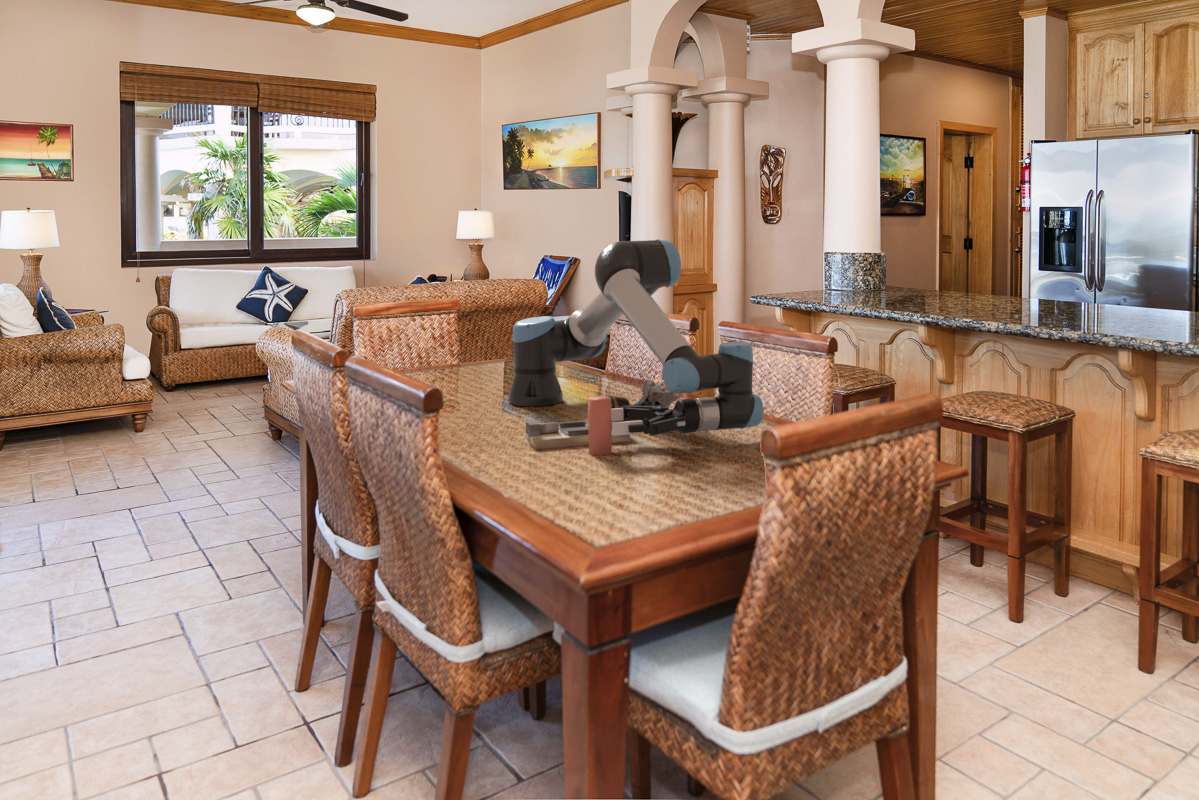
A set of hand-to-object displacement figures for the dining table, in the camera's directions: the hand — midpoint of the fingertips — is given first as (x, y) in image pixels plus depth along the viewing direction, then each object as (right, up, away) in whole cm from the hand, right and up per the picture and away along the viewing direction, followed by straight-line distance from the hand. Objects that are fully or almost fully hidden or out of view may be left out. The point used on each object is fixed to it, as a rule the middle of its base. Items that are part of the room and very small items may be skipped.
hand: (603, 422), depth 195 cm
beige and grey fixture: (-6, -4, +14) cm, 16 cm away
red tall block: (-1, -7, +2) cm, 7 cm away
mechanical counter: (+6, -1, +31) cm, 31 cm away
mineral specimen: (+13, +2, +40) cm, 42 cm away
